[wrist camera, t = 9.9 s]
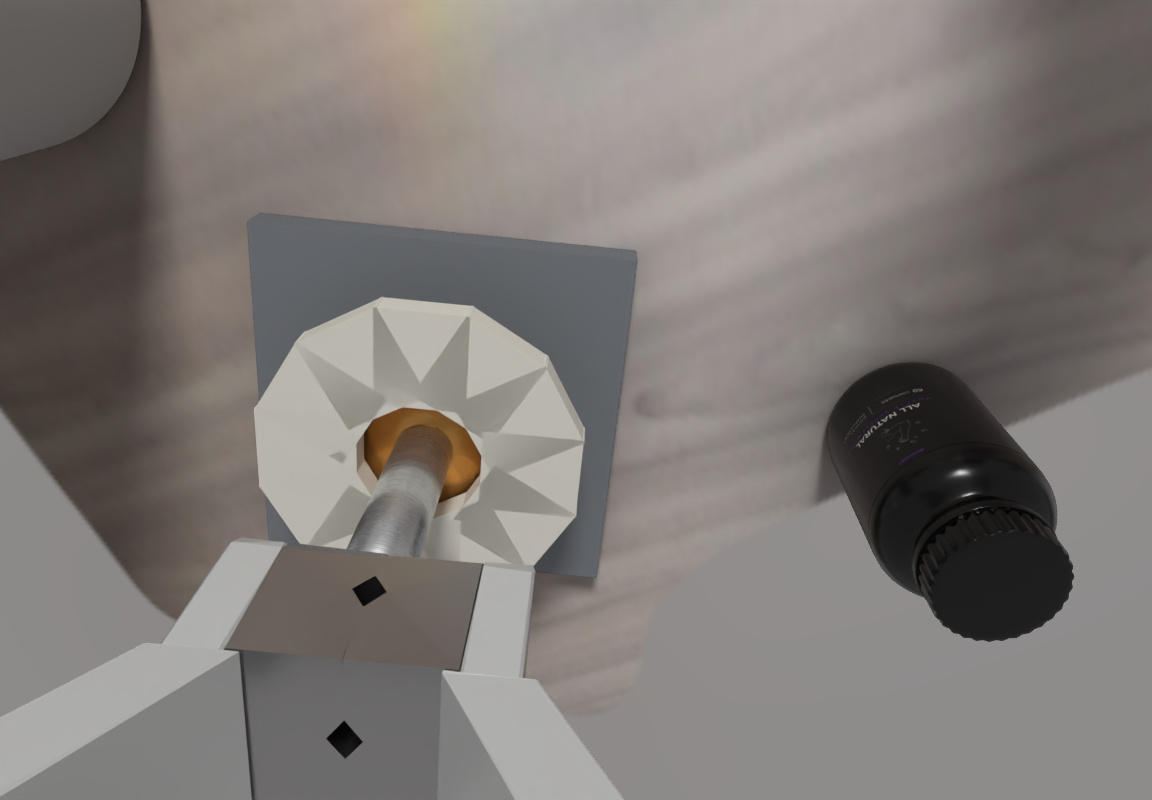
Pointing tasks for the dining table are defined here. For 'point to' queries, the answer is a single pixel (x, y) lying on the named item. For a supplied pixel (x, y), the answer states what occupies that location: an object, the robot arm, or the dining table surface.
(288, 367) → the silicone ring
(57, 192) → the dining table surface
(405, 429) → the silver and orange rod
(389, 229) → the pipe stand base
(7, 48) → the cylinder vase
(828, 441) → the supplement bottle
